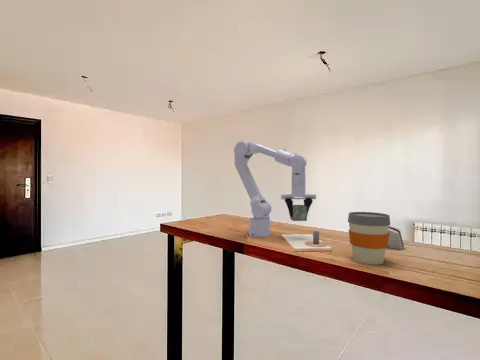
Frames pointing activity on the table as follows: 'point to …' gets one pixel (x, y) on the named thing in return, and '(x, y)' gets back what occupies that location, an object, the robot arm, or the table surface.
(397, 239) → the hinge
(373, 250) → the reusable coffee cup
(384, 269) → the table surface
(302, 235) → the post board
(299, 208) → the collar
